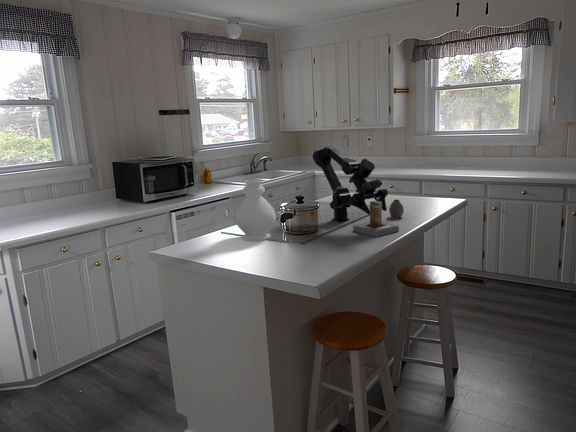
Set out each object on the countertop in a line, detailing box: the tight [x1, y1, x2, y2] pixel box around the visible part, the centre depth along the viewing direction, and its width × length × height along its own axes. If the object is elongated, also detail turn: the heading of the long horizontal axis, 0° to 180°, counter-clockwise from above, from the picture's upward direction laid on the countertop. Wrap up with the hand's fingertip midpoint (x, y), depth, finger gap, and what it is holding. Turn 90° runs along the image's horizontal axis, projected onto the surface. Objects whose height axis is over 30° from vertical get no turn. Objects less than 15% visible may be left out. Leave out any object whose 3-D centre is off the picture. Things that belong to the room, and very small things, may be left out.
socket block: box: [352, 221, 400, 238], centre depth 205 cm, size 14×14×3 cm
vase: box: [388, 198, 404, 219], centre depth 228 cm, size 7×7×9 cm
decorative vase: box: [234, 179, 277, 242], centre depth 201 cm, size 18×18×25 cm
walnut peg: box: [369, 200, 383, 228], centre depth 204 cm, size 5×5×13 cm
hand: (377, 212), depth 203 cm, fingers open, 9 cm apart
